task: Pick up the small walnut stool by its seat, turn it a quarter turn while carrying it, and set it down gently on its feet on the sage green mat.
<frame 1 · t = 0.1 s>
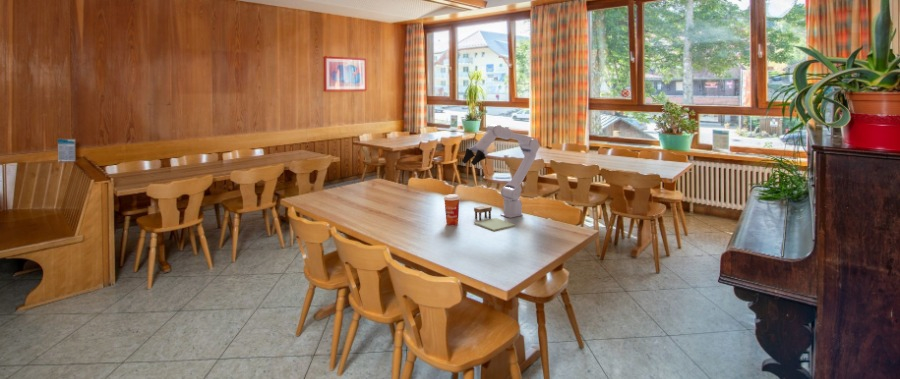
hand: (468, 163, 240), 32 cm above the table, tool tilted 50°, fingers open, 7 cm apart
mat: (494, 225, 245), on the table
stool: (482, 218, 258), on the table
coffee cup: (452, 224, 249), on the table
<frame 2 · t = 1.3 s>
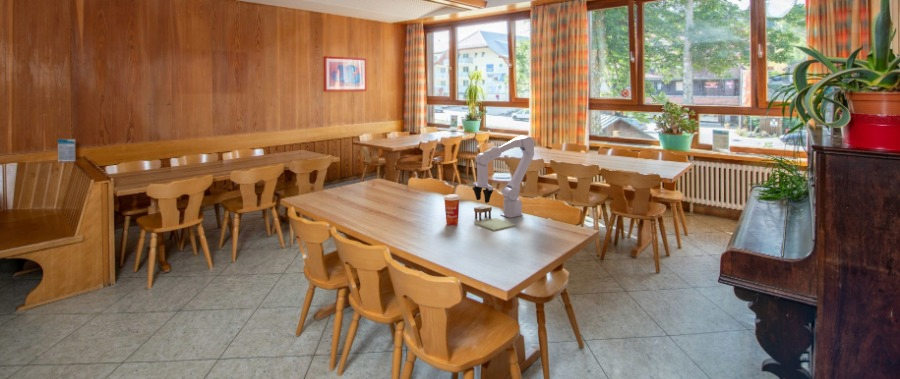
hand: (482, 201, 256), 9 cm above the table, tool pointing down, fingers open, 7 cm apart
nothing on the table moved.
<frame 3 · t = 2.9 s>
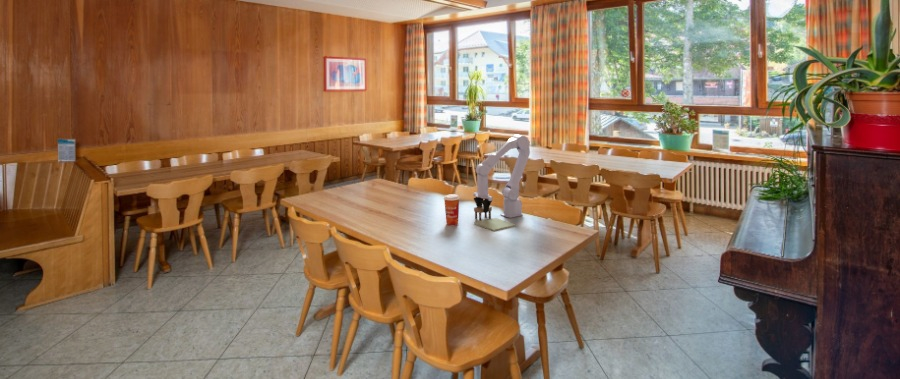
hand: (482, 211, 257), 4 cm above the table, tool pointing down, fingers closed on stool, 5 cm apart
stool: (482, 218, 258), on the table, touching gripper
everything else where it was.
when the fingers open (6 cm above the table, at t = 6.8 s): stool stays where it is, resting on mat.
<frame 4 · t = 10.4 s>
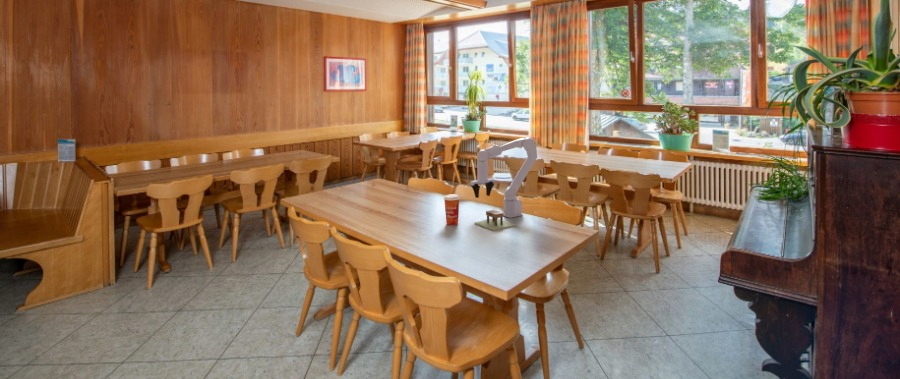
hand: (482, 196, 262), 10 cm above the table, tool pointing down, fingers open, 7 cm apart
stool: (494, 223, 245), point 1 cm above the table, touching mat
everything else where it was.
at the end: stool inside the target area on the mat (0.0 cm from its centre), point 0.8 cm above the mat's base; stool tilted 0°; stool touching mat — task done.
